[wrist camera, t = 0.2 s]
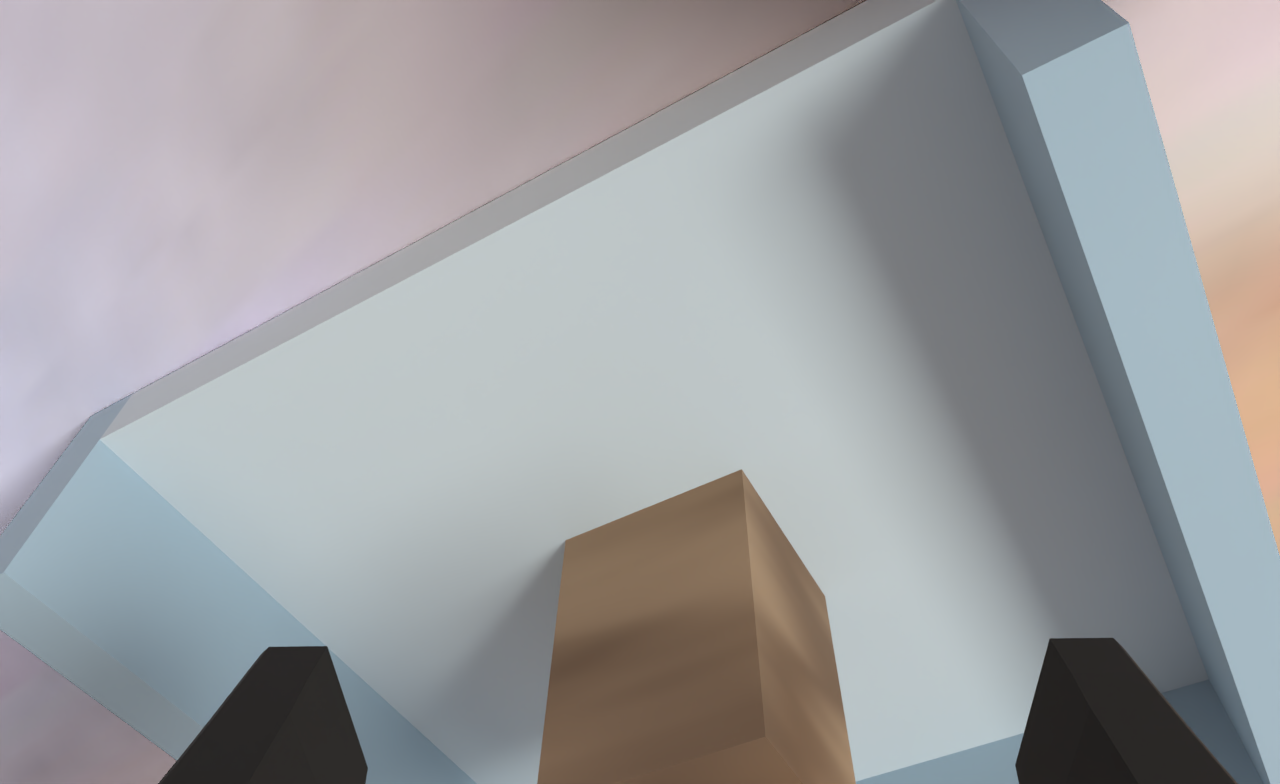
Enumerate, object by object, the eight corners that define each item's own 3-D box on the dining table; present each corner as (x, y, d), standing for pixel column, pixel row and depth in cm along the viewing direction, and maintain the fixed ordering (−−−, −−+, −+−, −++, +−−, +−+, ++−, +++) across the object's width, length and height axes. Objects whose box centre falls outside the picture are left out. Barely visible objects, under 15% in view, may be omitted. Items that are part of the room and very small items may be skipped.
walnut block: (825, 596, 22) (870, 868, 17) (659, 654, 23) (656, 924, 18) (741, 468, 20) (765, 736, 15) (565, 540, 21) (534, 808, 16)
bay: (1245, 642, 24) (1359, 838, 20) (557, 846, 30) (540, 1029, 26) (1007, -76, 15) (1128, 23, 11) (90, 416, 21) (-45, 595, 17)
